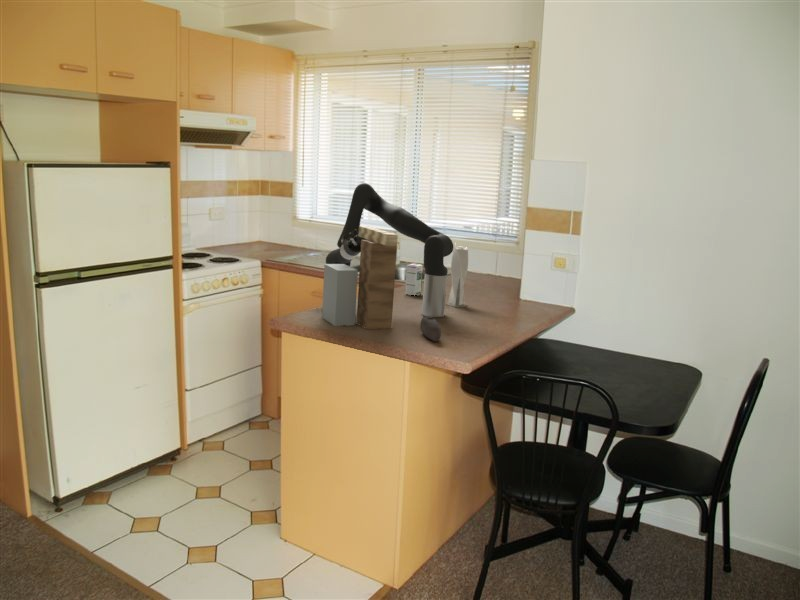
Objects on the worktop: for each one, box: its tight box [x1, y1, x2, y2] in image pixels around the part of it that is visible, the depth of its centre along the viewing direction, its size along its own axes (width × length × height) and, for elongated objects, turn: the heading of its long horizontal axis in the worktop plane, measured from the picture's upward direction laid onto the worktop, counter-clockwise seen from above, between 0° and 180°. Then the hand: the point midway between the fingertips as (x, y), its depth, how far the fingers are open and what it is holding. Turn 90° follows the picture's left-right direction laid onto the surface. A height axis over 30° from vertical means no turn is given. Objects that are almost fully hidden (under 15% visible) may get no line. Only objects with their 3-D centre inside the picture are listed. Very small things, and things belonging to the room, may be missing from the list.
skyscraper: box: [445, 241, 469, 309], centre depth 299 cm, size 8×8×28 cm
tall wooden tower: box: [356, 240, 398, 330], centre depth 251 cm, size 10×10×32 cm
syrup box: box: [404, 263, 424, 297], centre depth 317 cm, size 6×6×14 cm
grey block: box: [321, 263, 359, 327], centre depth 255 cm, size 14×8×21 cm, turn 26°
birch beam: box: [358, 225, 399, 247], centre depth 249 cm, size 26×4×4 cm, turn 26°
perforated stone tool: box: [419, 315, 442, 342], centre depth 241 cm, size 15×5×7 cm, turn 14°
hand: (366, 231), depth 258 cm, fingers open, 8 cm apart
